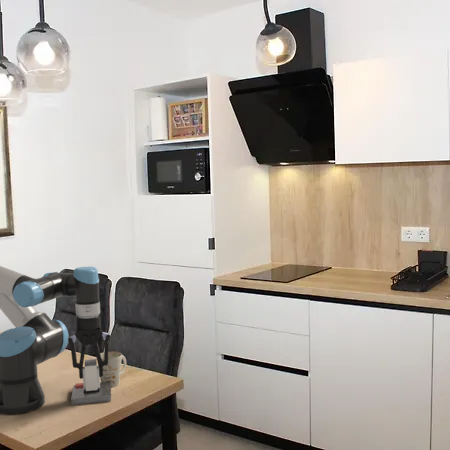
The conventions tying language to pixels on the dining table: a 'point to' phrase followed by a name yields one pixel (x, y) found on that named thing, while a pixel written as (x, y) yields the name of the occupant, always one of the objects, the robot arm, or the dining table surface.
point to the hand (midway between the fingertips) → (91, 386)
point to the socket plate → (91, 394)
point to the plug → (91, 374)
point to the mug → (113, 368)
